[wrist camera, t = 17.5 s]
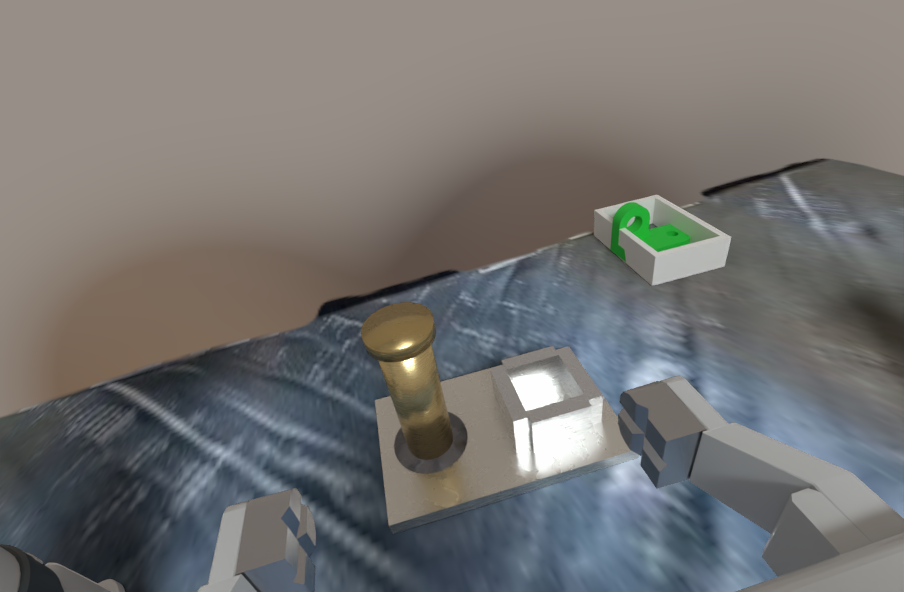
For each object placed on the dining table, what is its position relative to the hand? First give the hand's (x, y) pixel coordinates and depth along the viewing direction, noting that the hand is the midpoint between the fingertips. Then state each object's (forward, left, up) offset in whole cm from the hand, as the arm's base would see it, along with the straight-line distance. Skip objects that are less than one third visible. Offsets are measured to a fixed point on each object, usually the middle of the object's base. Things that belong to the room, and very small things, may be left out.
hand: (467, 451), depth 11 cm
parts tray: (+41, +51, -32) cm, 73 cm away
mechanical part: (+41, +51, -32) cm, 73 cm away
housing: (+5, +25, -32) cm, 40 cm away
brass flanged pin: (-2, +25, -30) cm, 39 cm away
